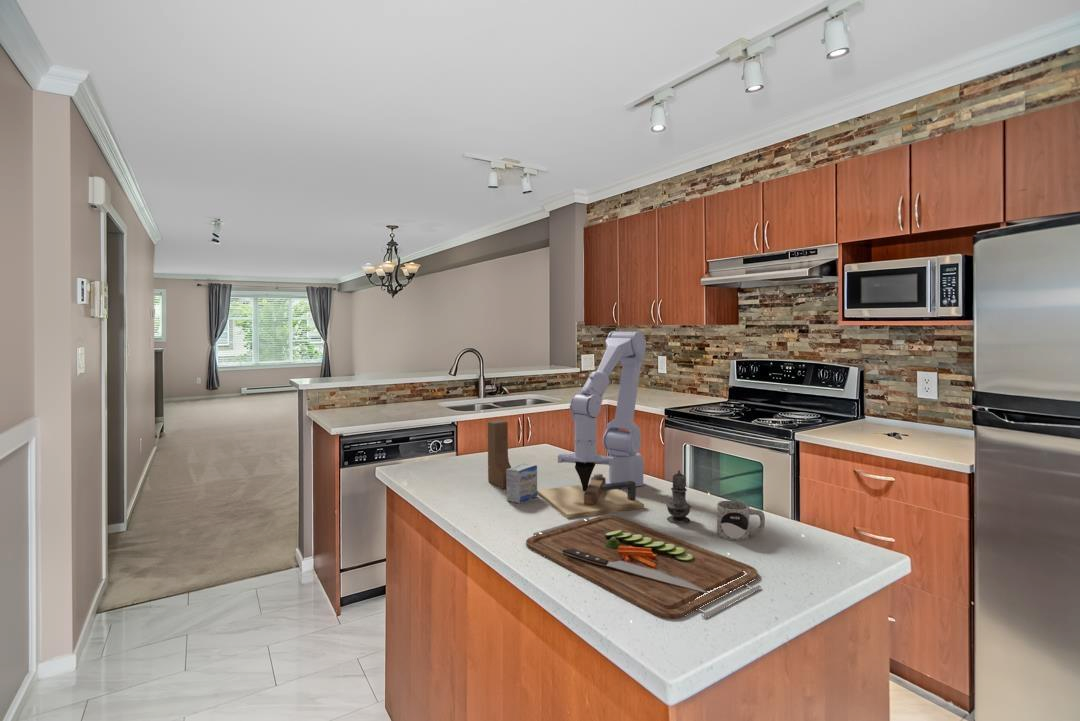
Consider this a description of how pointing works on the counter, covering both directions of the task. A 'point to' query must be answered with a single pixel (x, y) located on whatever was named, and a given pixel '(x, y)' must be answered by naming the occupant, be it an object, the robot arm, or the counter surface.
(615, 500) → the oak board
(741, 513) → the mug
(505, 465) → the wooden block
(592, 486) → the link
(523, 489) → the medicine box
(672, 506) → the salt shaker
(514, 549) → the counter surface
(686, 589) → the chopping board
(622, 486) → the bar
